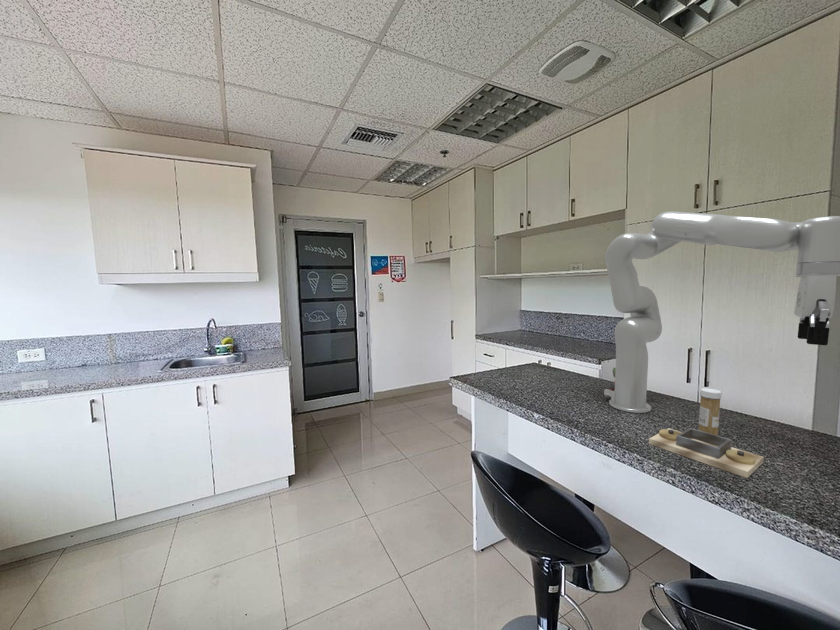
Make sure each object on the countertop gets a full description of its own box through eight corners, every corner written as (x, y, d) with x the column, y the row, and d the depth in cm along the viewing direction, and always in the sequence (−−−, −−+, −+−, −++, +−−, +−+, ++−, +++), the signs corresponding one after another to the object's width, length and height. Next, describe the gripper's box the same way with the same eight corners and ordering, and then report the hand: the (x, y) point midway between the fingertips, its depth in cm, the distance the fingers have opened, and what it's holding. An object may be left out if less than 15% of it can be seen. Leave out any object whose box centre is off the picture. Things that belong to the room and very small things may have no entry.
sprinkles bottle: (721, 440, 96) (724, 393, 94) (700, 438, 97) (704, 391, 96) (714, 434, 100) (717, 388, 98) (694, 431, 101) (697, 386, 100)
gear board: (648, 443, 94) (649, 429, 94) (668, 433, 100) (669, 419, 100) (747, 478, 77) (748, 461, 77) (763, 462, 84) (764, 446, 83)
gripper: (789, 271, 92) (782, 335, 93) (804, 270, 78) (796, 345, 80) (832, 271, 87) (825, 338, 88) (856, 269, 73) (847, 349, 75)
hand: (811, 341), depth 84 cm, fingers open, 9 cm apart
